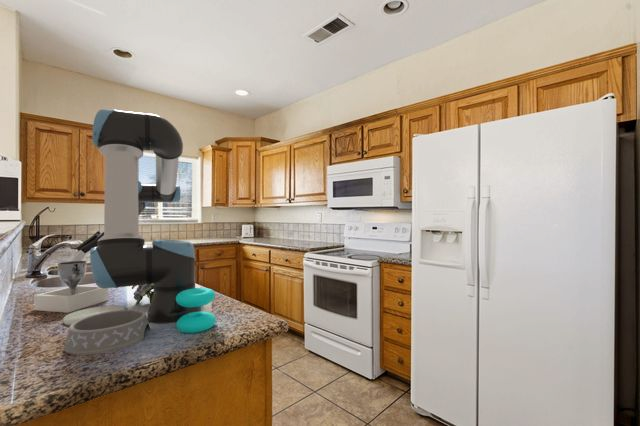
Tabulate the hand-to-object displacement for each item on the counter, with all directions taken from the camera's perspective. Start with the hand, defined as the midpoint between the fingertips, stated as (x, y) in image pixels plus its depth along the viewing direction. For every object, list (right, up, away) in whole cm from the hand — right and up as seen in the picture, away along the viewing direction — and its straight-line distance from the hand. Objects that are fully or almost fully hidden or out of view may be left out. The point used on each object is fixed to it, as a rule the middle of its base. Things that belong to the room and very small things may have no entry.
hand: (85, 266), depth 115 cm
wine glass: (0, -13, -5) cm, 14 cm away
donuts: (+53, -12, -29) cm, 61 cm away
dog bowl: (+33, -12, -36) cm, 51 cm away
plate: (+17, -12, -19) cm, 28 cm away
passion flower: (+27, -12, -5) cm, 30 cm away
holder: (0, -12, -5) cm, 14 cm away
